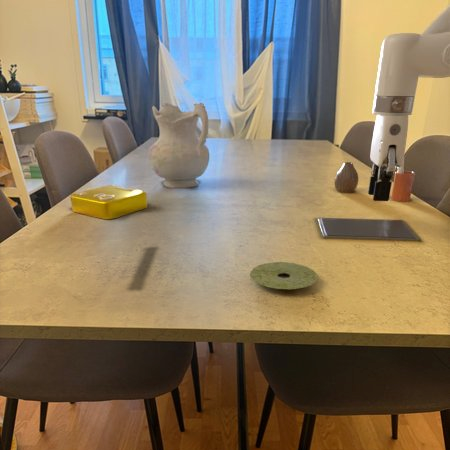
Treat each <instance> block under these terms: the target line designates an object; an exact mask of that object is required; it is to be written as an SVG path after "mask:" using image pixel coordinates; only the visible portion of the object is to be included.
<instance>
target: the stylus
mask: <svg viewBox="0 0 450 450" xmlns="http://www.w3.org/2000/svg"><path fill="white" fill-rule="evenodd" d="M397 171H398V173H402V174H404V171H405V160H404V161H403V165H402V166H401V167H400V168H398V167H397Z"/></svg>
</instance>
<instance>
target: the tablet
mask: <svg viewBox="0 0 450 450" xmlns="http://www.w3.org/2000/svg"><path fill="white" fill-rule="evenodd" d="M317 222H318V225H319V229H320V231H321V235H322V238H323V239H335V240H336V239H338V240H339V239H340V240H365V241H366V240H367V241H369V240H370V241H399V242H400V241H401V242H420V241H421V238H419V237H418V236H417V234H416V233H415V232H414V231H413V230H412V229H411V227H409V225H408V224H407V223H406V222H405V221H404V220H403V219H381V218H379V219H378V218H376V219H375V218H343V217H341V218H339V217H317Z"/></svg>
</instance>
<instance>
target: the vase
mask: <svg viewBox="0 0 450 450" xmlns="http://www.w3.org/2000/svg"><path fill="white" fill-rule="evenodd" d="M333 182H334V188H335V190H336V192H338V193H344V194H351V193H354V192H355V191H356V189H357V188H358V185H359V174H358V171H357V169H356V168H355V166H354V163H353V162H349V161H345V162H344V163H343V164H342V166H341V167H340V168H339V169H338V171H337V172H336V173H335V177H334V181H333Z"/></svg>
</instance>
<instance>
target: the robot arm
mask: <svg viewBox="0 0 450 450" xmlns="http://www.w3.org/2000/svg"><path fill="white" fill-rule="evenodd" d="M419 78H425V79H427V78H430V79H431V78H432V79H445V78H450V4H449V5H448V6H447V7H446V8H445V9H443V10H442V11H441V12H440V13H439V14H438V15H437V17H435V19H434V20H432V21H431V22H430V24H429V25H428V26H427V27H426V28H425V29H424V30H423V31H422V32H421V33H417V32H416V33H414V32H403V33H402V32H401V33H400V32H399V33H392V34H389V35H387V36H385V37H384V39H383V41H382V43H381V49H380V55H379V63H378V71H377V77H376V83H375V89H374V90H375V92H374V99H373V104H372V111H371V114H372V115H376V118H375V123H374V127H373V132H372V133H373V134H372V139H371V145H370V153H369V157H370V161H371V162H372V167H371V171H370V177H369V184H368V191H367V194H368V195H369V196H372V200H373V201H374V202H389V200H390V197H391V191H392V186H393V180H394V174H395V172H396V168H397V169H398V168H400V167H401V166H402V165H403V161H404V162H405V154H406V153H405V152H406V147H407V137H408V129H409V116H411V115H413V109H414V104H415V98H416V93H417V87H418V81H419Z"/></svg>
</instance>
